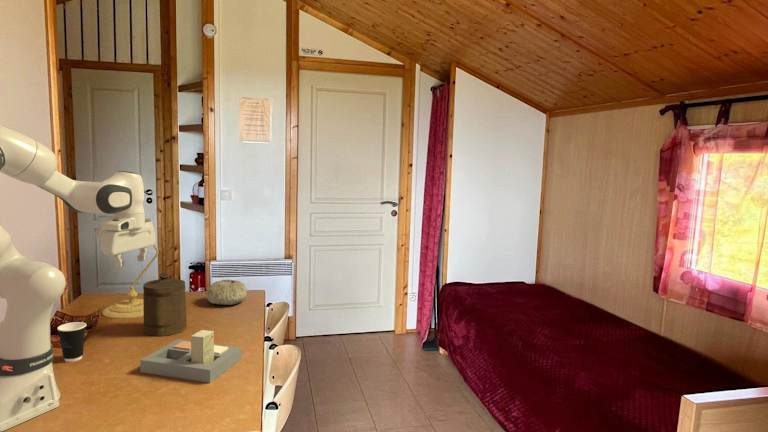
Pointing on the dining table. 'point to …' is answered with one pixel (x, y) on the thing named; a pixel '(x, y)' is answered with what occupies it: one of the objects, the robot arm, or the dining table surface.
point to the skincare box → (202, 347)
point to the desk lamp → (132, 305)
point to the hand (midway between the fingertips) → (130, 263)
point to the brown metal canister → (164, 306)
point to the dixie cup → (72, 340)
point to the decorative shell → (226, 292)
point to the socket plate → (189, 362)
